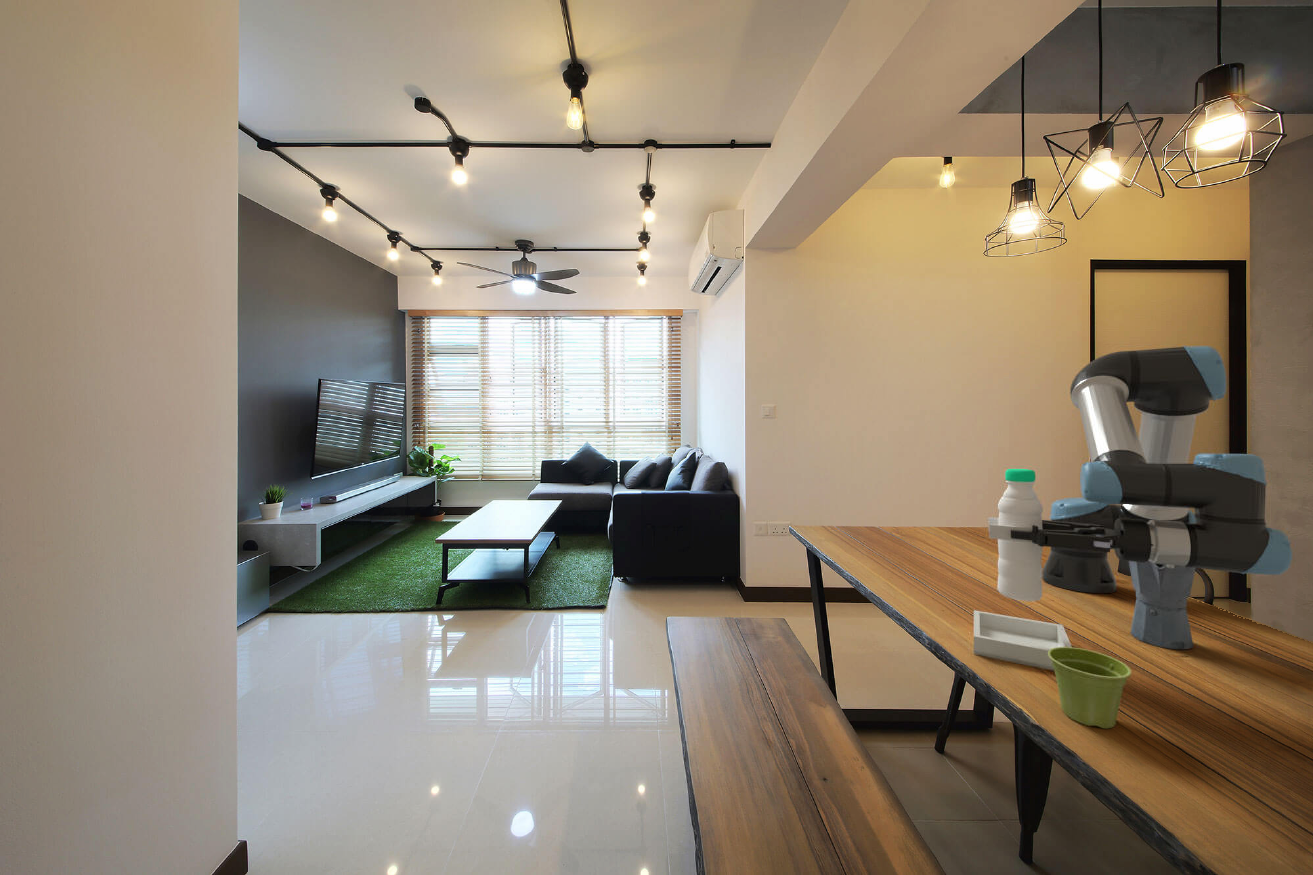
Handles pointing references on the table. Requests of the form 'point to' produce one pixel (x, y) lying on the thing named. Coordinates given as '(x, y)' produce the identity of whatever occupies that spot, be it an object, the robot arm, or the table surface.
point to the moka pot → (1161, 604)
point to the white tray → (1017, 639)
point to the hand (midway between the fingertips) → (989, 527)
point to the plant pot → (1089, 685)
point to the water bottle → (1016, 557)
